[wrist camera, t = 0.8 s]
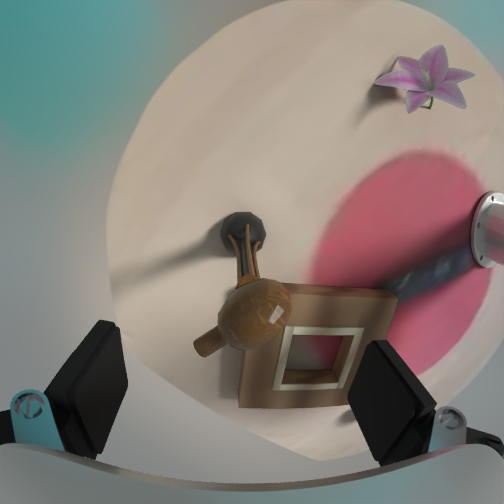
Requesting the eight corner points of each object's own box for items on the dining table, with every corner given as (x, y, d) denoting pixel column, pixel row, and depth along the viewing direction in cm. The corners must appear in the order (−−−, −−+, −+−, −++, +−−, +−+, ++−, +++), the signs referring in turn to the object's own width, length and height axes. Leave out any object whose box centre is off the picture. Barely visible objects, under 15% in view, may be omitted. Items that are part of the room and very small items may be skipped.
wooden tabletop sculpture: (231, 267, 31) (226, 399, 12) (205, 235, 30) (158, 338, 11) (273, 236, 31) (331, 338, 12) (248, 202, 30) (272, 258, 10)
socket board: (387, 289, 34) (399, 299, 30) (351, 391, 38) (358, 404, 35) (252, 280, 32) (254, 291, 29) (238, 393, 37) (238, 408, 34)
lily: (427, 57, 26) (434, 17, 17) (476, 123, 24) (500, 93, 16) (363, 84, 31) (357, 44, 22) (411, 155, 29) (423, 128, 20)
